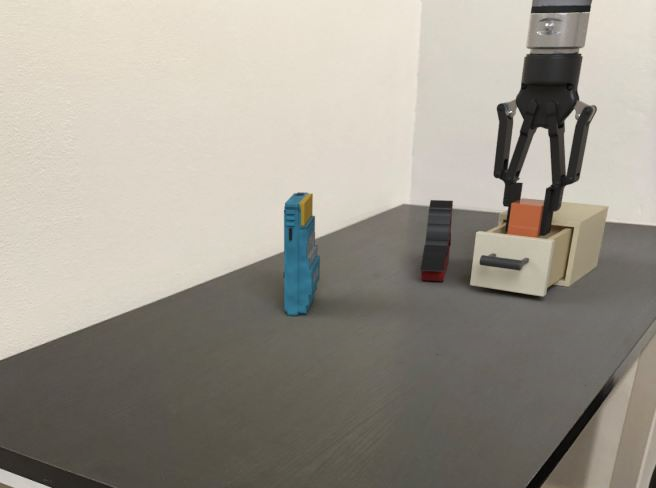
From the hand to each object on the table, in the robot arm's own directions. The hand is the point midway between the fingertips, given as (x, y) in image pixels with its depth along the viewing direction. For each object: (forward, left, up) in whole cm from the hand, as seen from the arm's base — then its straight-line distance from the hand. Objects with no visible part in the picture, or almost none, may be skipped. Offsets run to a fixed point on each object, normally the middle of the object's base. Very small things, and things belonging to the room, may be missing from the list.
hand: (527, 231), depth 118 cm
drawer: (0, +1, -7) cm, 8 cm away
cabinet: (0, -12, -8) cm, 14 cm away
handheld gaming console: (+23, +26, -9) cm, 36 cm away
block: (0, 0, 0) cm, 0 cm away
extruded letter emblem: (+15, -2, -8) cm, 17 cm away
